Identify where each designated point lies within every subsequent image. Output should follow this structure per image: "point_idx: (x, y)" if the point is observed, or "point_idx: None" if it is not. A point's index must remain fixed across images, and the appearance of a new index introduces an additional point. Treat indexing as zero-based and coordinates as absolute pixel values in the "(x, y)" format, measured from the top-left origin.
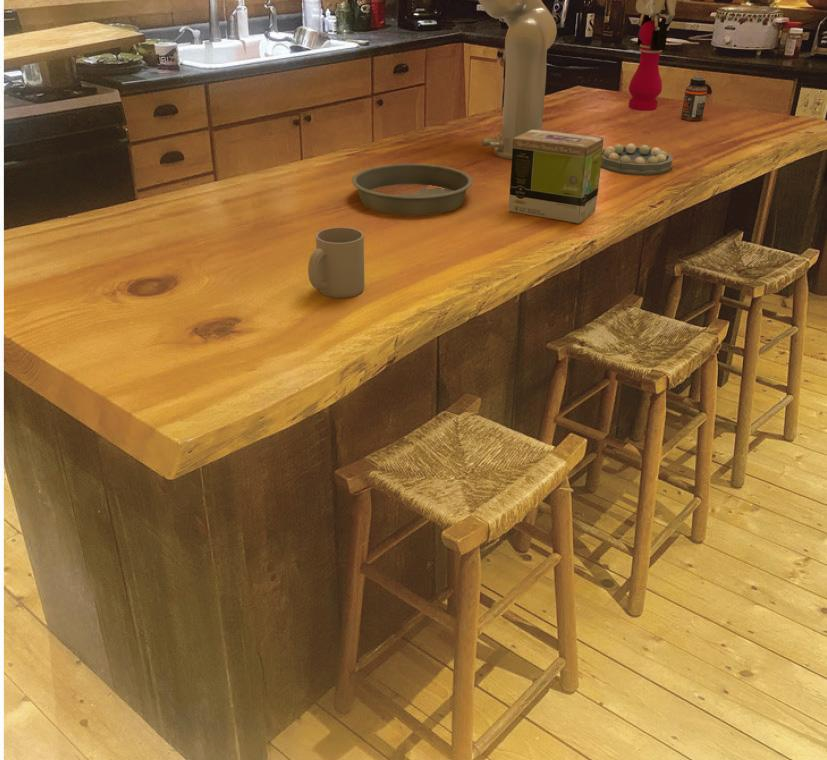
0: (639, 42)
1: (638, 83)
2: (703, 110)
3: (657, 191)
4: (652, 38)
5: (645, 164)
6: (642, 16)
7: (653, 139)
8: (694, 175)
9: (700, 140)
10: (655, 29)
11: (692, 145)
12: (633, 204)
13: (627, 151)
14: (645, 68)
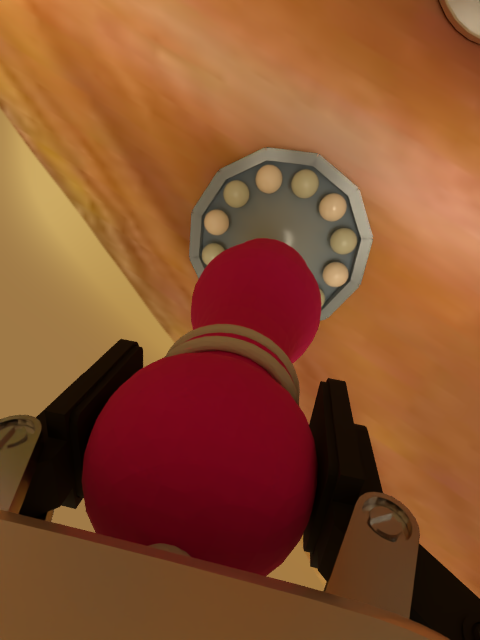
0: (321, 390)
1: (221, 260)
2: None
3: (89, 179)
4: (89, 374)
5: (195, 224)
6: (358, 587)
7: (456, 413)
8: (178, 317)
9: (399, 481)
10: (34, 424)
11: (372, 446)
12: (8, 68)
13: (332, 262)
14: (209, 307)
